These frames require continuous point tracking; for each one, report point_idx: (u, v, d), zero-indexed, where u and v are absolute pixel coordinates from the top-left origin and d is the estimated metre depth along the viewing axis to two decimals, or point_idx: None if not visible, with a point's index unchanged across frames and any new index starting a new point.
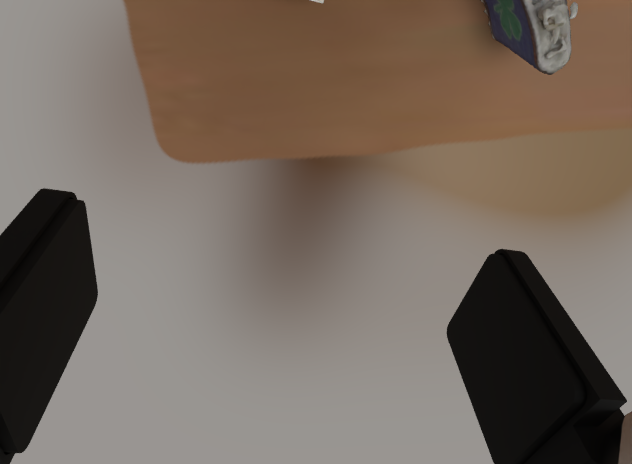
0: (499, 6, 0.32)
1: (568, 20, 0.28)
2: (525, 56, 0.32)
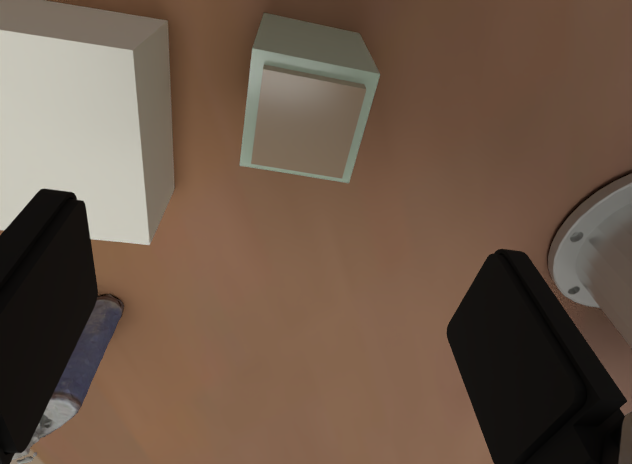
0: None
1: None
2: None
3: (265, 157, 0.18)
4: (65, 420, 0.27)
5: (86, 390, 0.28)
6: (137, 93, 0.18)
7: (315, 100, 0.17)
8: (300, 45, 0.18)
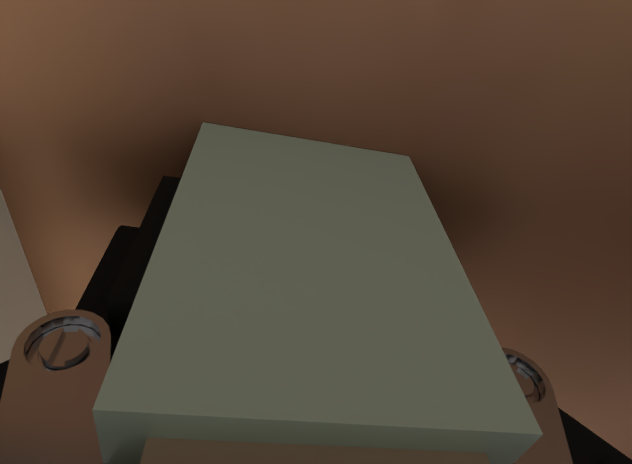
0: None
1: None
2: None
3: None
4: None
5: None
6: None
7: None
8: (279, 292, 0.06)
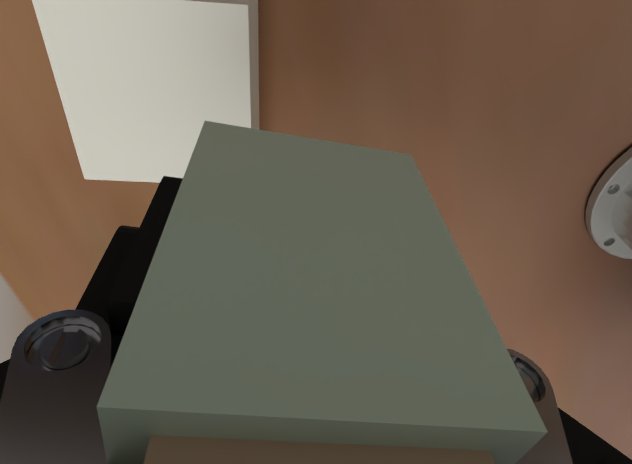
0: None
1: None
2: None
3: None
4: None
5: None
6: (249, 44, 0.21)
7: None
8: (282, 290, 0.06)
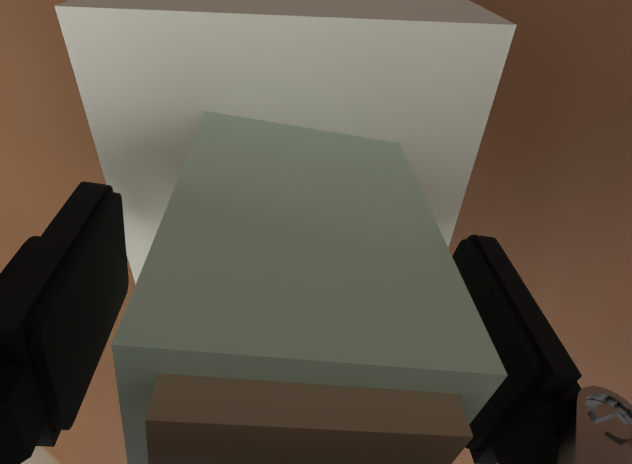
0: None
1: None
2: None
3: None
4: None
5: None
6: (490, 100, 0.11)
7: (319, 462, 0.06)
8: (275, 256, 0.07)
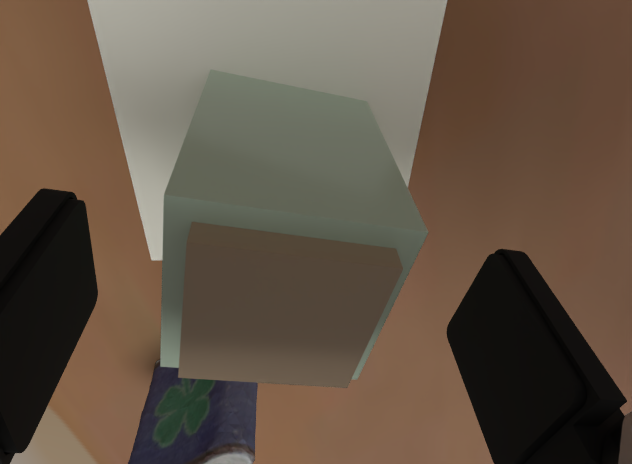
0: (188, 388, 0.27)
1: None
2: (136, 455, 0.25)
3: (204, 369, 0.10)
4: None
5: None
6: (434, 55, 0.13)
7: (300, 288, 0.08)
8: (269, 160, 0.09)
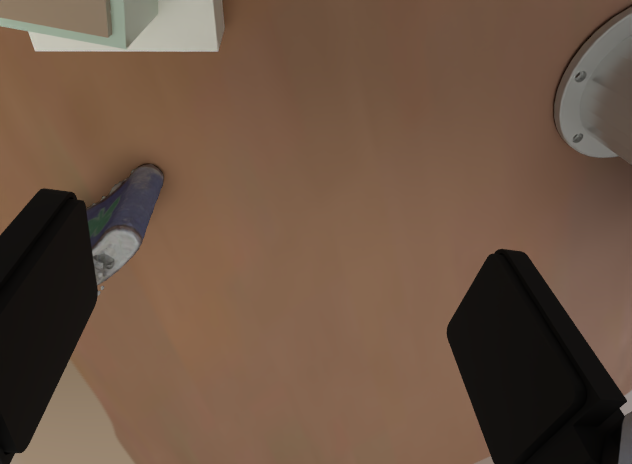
0: (101, 215, 0.33)
1: None
2: None
3: (8, 7, 0.16)
4: (127, 257, 0.29)
5: (144, 231, 0.30)
6: None
7: None
8: None
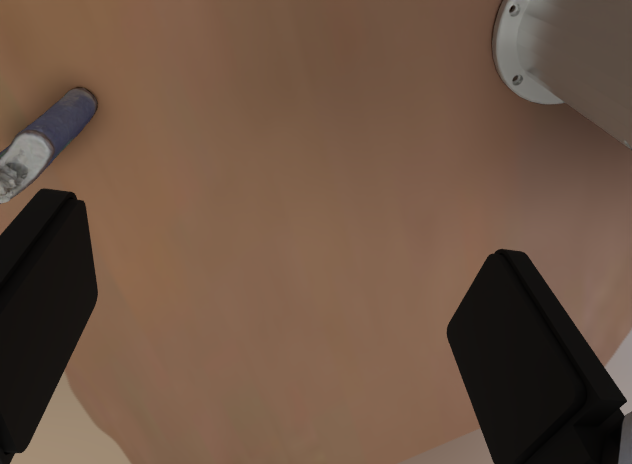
0: None
1: None
2: None
3: None
4: (40, 166, 0.29)
5: (59, 142, 0.30)
6: None
7: None
8: None
